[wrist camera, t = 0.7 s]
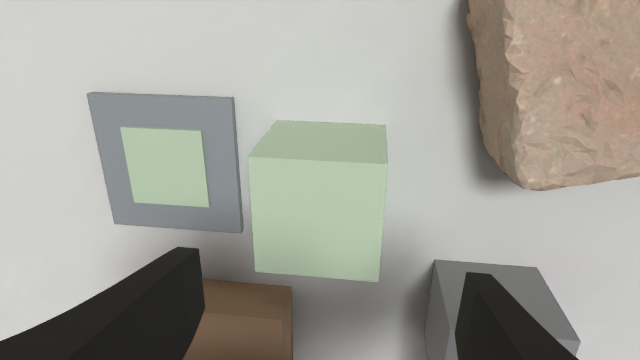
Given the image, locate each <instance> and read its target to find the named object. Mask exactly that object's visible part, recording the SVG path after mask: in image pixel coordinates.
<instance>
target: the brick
mask: <svg viewBox="0 0 640 360" xmlns="http://www.w3.org/2000/svg"><path fill="white" fill-rule="evenodd" d="M468 5H469V10H470V12H469V14H467V25H468V29H470V33H471V35H472V40H473V41H474V43H475V47H474V51H475V53H476V67H477V76H478V77H479V79H480V80H479V84H480V89H479V91H478V93H479V101H480V107H479V125H480V129H481V132H482V138H483V144H484V147H485V148H486V150H487V152H488V154H489V156H491V157H492V158H494V159H495V161H496V163H497V164H498V166H499V167H500V168H501V170H502V171H503V172H504V173H505V174H507V175H508V176H509V177H510V179H511V180H512V181H513V182H514V183H516V184H517V185H519V186H521V187H522V188H524V189H531V190H537V191H545V190H551V189H557V188H562V187H568V186H578V185H588V184H595V183H600V182H605V181H611V180H620V179H626V178H632V177H638V176H640V0H468Z"/></svg>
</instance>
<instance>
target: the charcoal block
mask: <svg viewBox="0 0 640 360" xmlns="http://www.w3.org/2000/svg"><path fill="white" fill-rule="evenodd" d="M466 272H475V273H486V274H491V275H492V276H493V277H494V278H495V279H496V280H497V281H498V282H499V283H500V284H501V285H502V286H503V287H504V288H505V289H506V290H507V291H508V292H509V293H510V294H511V295H512V296H513V297H514V298H515V299H516V300H517V301H518V302H519V303H520V305H521V306H522V307H523V308H524V309H525V310H526V311H527V312H528V313H529V314H530V315H531V316H532V317H533V318H534V319H535V320H536V321H537V322H538V323H539V324H540V325H541V326H542V327H543V328H545V329H546V330H547V331H548V332H549V333H550V334H551V335H552V336H553V337H554V338H555V339H556V340H557V341H558V342H559V343H560V344H562V345H563V346H564V347H565V348H566V349H567V350H568V351H569V352H571V353H572V354H573V355H574V356H576V353H577V350H578V347H579V344H580V342H581V341H580V339H579V338H578V336H577V334H576V333H575V331H574V329H573V328H572V326H571V324H570V322H569V321H568V319H567V317H566V316H565V314H564V312H563V311H562V309H561V307H560V306H559V304H558V302H557V301H556V299H555V297H554V296H553V294H552V292H551V291H550V289H549V287H548V285H547V284H546V282H545V280H544V279H543V277H542V275H541V274H540V272H539V270H538V269H537V267H524V266H511V265H498V264H485V263H472V262H459V261H446V260H435V261H434V268H433V275H432V282H431V289H430V295H429V302H428V309H427V316H426V323H425V330H424V339H425V346H426V353H427V360H458V355H457V348H456V340H455V328H456V322H457V317H458V312H459V307H460V302H461V297H462V291H463V286H464V281H465V276H466Z"/></svg>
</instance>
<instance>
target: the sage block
mask: <svg viewBox="0 0 640 360" xmlns="http://www.w3.org/2000/svg"><path fill="white" fill-rule="evenodd" d="M248 168H249V184H250V200H251V216H252V232H253V248H254V264H255V272H263V273H275V274H287V275H298V276H310V277H322V278H334V279H345V280H357V281H369V282H379V271H380V259H381V246H382V234H383V222H384V210H385V197H386V185H387V173H388V154H387V139H386V125H377V124H354V123H332V122H309V121H286V120H277V121H276V122H275V124H274V125H273V126H272V127H271V129H270V130H269V131H268V132H267V134H266V135H265V136H264V137H263V138H262V140H261V141H260V142H259V143H258V145H257V146H256V147H255V148H254V150H253V151H252V152H251V153H250V155H249V156H248Z"/></svg>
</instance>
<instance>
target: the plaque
mask: <svg viewBox="0 0 640 360" xmlns="http://www.w3.org/2000/svg"><path fill="white" fill-rule="evenodd" d="M87 98H88V103H89V108H90V112H91V117H92V122H93V126H94V131H95V136H96V140H97V145H98V150H99V154H100V159H101V164H102V169H103V173H104V178H105V183H106V187H107V192H108V197H109V201H110V206H111V211H112V215H113V220H114V224H121V225H135V226H148V227H162V228H175V229H189V230H203V231H216V232H230V233H242V231H243V218H242V204H241V190H240V176H239V163H238V149H237V135H236V121H235V108H234V97H209V96H182V95H156V94H130V93H103V92H90V93H87Z"/></svg>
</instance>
